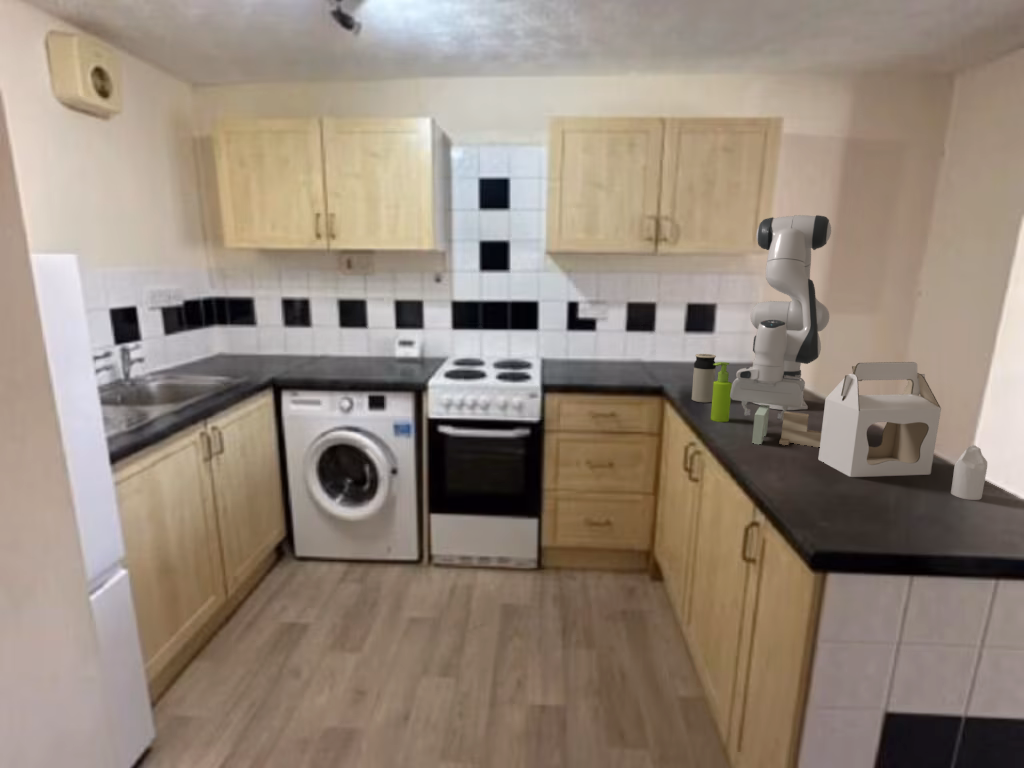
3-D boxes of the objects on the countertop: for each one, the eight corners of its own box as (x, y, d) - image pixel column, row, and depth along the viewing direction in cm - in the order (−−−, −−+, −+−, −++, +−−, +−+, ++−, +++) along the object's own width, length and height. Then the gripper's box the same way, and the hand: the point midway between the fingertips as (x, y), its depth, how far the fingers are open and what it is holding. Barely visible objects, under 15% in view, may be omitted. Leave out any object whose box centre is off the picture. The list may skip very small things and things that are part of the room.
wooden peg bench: (781, 437, 173) (784, 409, 172) (851, 447, 164) (855, 417, 162) (779, 444, 167) (782, 415, 165) (851, 455, 158) (855, 424, 156)
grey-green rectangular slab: (758, 431, 179) (761, 404, 178) (766, 432, 178) (769, 405, 176) (752, 443, 168) (754, 414, 166) (761, 444, 166) (763, 415, 165)
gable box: (892, 457, 156) (907, 357, 150) (931, 474, 143) (949, 366, 137) (816, 459, 154) (828, 358, 148) (849, 477, 141) (864, 367, 135)
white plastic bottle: (971, 449, 125) (951, 442, 130) (962, 500, 127) (943, 490, 133) (998, 449, 125) (976, 441, 131) (988, 500, 128) (968, 490, 133)
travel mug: (714, 403, 216) (718, 357, 212) (692, 402, 217) (696, 356, 214) (711, 398, 223) (714, 353, 220) (690, 397, 225) (693, 353, 221)
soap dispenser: (704, 418, 195) (708, 361, 190) (720, 416, 197) (725, 360, 193) (716, 423, 189) (720, 364, 185) (732, 421, 192) (737, 363, 187)
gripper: (806, 375, 170) (801, 419, 173) (734, 369, 180) (731, 410, 183) (804, 378, 165) (799, 424, 168) (731, 372, 175) (727, 415, 178)
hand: (763, 417), depth 176 cm, fingers open, 8 cm apart
